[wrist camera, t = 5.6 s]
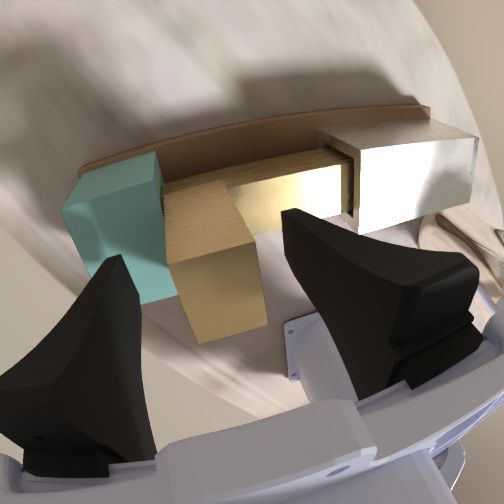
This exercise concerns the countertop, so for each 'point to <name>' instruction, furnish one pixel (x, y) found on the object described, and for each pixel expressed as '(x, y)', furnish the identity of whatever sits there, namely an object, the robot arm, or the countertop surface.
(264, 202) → the wooden l-shaped block
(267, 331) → the countertop surface
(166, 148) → the board
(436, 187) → the white rectangular block
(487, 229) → the beer glass
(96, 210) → the teal rectangular block
